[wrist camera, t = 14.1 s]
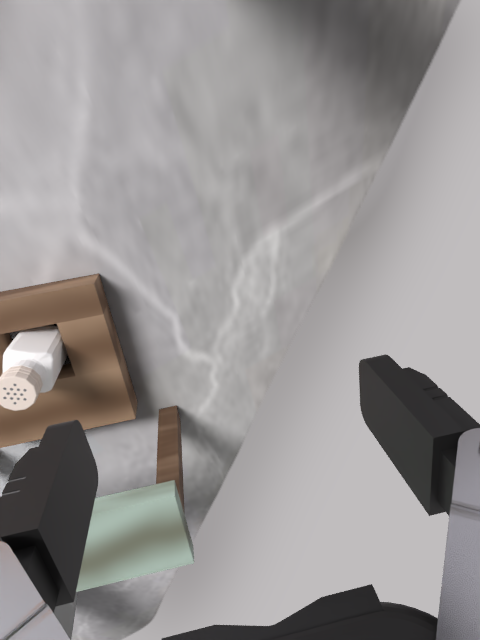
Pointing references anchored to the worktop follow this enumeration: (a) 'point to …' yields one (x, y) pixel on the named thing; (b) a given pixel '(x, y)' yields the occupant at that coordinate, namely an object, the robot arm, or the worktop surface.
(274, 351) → the worktop surface
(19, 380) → the pepper shaker
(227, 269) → the worktop surface
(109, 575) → the stand
